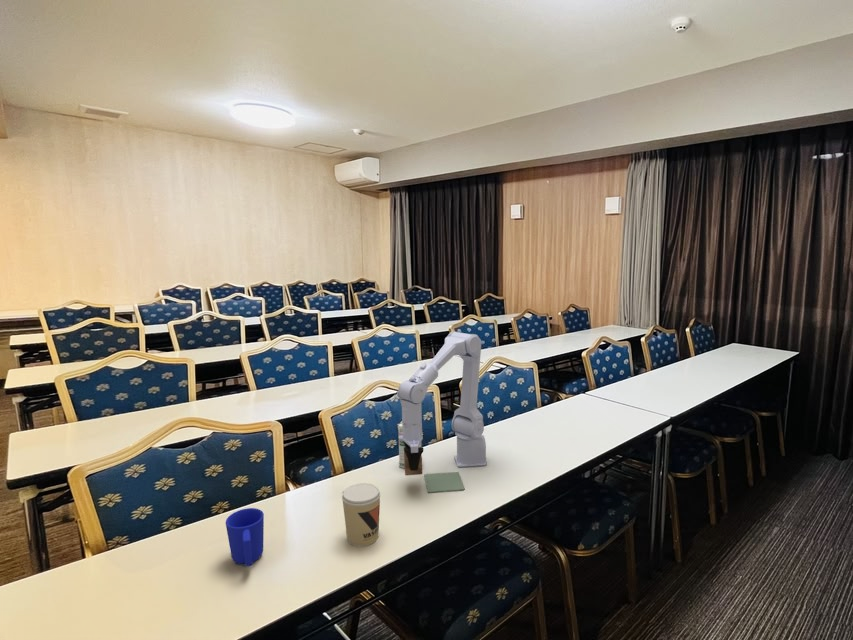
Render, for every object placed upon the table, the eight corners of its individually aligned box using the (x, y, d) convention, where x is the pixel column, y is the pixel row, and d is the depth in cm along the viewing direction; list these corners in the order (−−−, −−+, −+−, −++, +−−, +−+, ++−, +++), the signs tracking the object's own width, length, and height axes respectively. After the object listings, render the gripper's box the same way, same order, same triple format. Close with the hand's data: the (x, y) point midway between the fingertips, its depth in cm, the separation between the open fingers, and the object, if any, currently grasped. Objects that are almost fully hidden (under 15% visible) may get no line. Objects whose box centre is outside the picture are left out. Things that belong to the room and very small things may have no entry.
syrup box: (398, 467, 152) (397, 425, 150) (407, 460, 157) (406, 419, 155) (413, 471, 150) (412, 428, 147) (422, 463, 155) (421, 421, 153)
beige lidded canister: (365, 553, 109) (363, 505, 107) (335, 540, 114) (333, 495, 112) (389, 532, 117) (387, 488, 115) (360, 522, 122) (358, 479, 120)
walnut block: (420, 466, 141) (420, 450, 140) (422, 474, 136) (422, 458, 135) (404, 467, 140) (403, 452, 139) (405, 475, 135) (404, 459, 134)
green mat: (458, 472, 148) (458, 471, 148) (465, 490, 137) (465, 489, 137) (424, 475, 146) (424, 474, 146) (428, 493, 136) (428, 491, 136)
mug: (229, 584, 100) (225, 541, 98) (228, 551, 111) (225, 512, 109) (269, 573, 103) (266, 531, 101) (265, 542, 114) (262, 504, 112)
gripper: (397, 413, 142) (398, 455, 144) (399, 432, 128) (401, 478, 130) (420, 412, 143) (420, 454, 145) (425, 430, 129) (426, 476, 131)
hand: (413, 465), depth 138 cm, fingers closed on walnut block, 5 cm apart
